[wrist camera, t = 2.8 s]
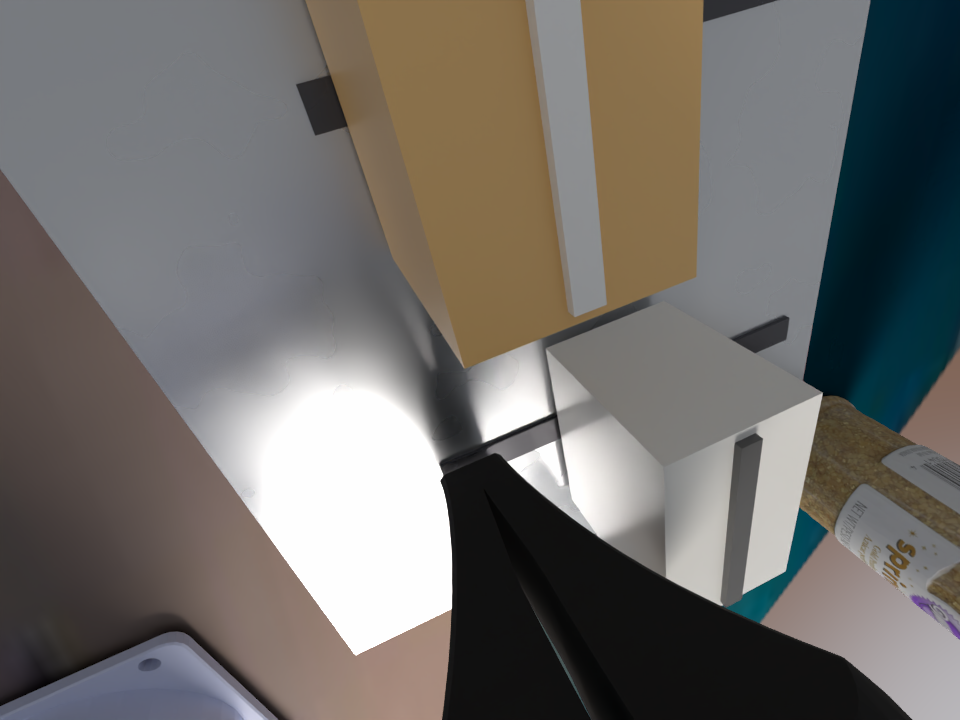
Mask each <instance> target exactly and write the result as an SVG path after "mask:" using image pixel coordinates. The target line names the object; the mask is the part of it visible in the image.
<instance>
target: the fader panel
mask: <svg viewBox="0 0 960 720" xmlns="http://www.w3.org/2000/svg"><path fill="white" fill-rule="evenodd" d="M869 5H870V0H703V38H702V77H701V117H700V156H699V196H698V235H697V275H696V277H695V278H693V279H690V280H688V281H685V282H683V283H680V284H678V285H675V286H673V287H670V288H668V289H665V290H663V291H660V292H658V293H655V294H652V295H650V296H647V297H645V298H642V299H640V300H637V301H635V302H632V303H630V304H627V305H625V306H622V307H620V308H617V309H615V310H612V311H610V312H607V313H605V314H602V315H599V316H597V317H594V318H592V319H589V320H587V321H584V322H582V323H579V324H577V325H574V326H572V327H569V328H567V329H564V330H562V331H559V332H557V333H554V334H552V335H549V336H546V337H544V338H541V339H539V340H536V341H534V342H531V343H529V344H526V345H524V346H521V347H519V348H516V349H514V350H511V351H509V352H506V353H504V354H501V355H498V356H496V357H493V358H491V359H488V360H486V361H483V362H481V363H478V364H476V365H473V366H471V367H468V368H466V369H464V367H463V366H462V364H461V363H460V361H459V360H458V358H457V357H456V355H455V353H454V352H453V350H452V349H451V347H450V346H449V344H448V343H447V341H446V340H445V338H444V337H443V335H442V333H441V332H440V330H439V329H438V327H437V326H436V324H435V323H434V321H433V320H432V318H431V317H430V315H429V313H428V312H427V310H426V309H425V307H424V306H423V304H422V303H421V301H420V300H419V298H418V297H417V295H416V293H415V292H414V290H413V289H412V287H411V286H410V284H409V283H408V281H407V280H406V278H405V277H404V275H403V273H402V272H401V270H400V269H399V267H398V266H397V264H396V263H395V261H394V260H393V258H392V255H391V252H390V249H389V246H388V243H387V240H386V237H385V234H384V231H383V228H382V225H381V222H380V219H379V216H378V213H377V210H376V207H375V205H374V202H373V199H372V196H371V193H370V190H369V187H368V184H367V181H366V178H365V175H364V172H363V169H362V166H361V163H360V160H359V157H358V154H357V151H356V149H355V146H354V143H353V140H352V137H351V134H350V131H349V128H348V125H347V122H346V119H345V116H344V113H343V110H342V107H341V104H340V101H339V98H338V95H337V92H336V90H335V87H334V84H333V81H332V78H331V75H330V72H329V69H328V66H327V63H326V60H325V57H324V54H323V51H322V48H321V45H320V42H319V39H318V36H317V33H316V31H315V28H314V25H313V22H312V19H311V16H310V13H309V10H308V7H307V4H306V1H305V0H0V169H1V171H2V172H3V173H4V175H5V176H6V177H7V179H8V180H9V182H10V183H11V184H12V186H13V187H14V188H15V190H16V191H17V192H18V194H19V195H20V197H21V198H22V199H23V201H24V202H25V203H26V205H27V206H28V208H29V209H30V210H31V212H32V213H33V214H34V216H35V217H36V218H37V220H38V221H39V223H40V224H41V225H42V227H43V228H44V229H45V231H46V232H47V234H48V235H49V236H50V238H51V239H52V240H53V242H54V243H55V244H56V246H57V247H58V249H59V250H60V251H61V253H62V254H63V255H64V257H65V258H66V260H67V261H68V262H69V264H70V265H71V266H72V268H73V269H74V270H75V272H76V273H77V275H78V276H79V277H80V279H81V280H82V281H83V283H84V284H85V286H86V287H87V288H88V290H89V291H90V292H91V294H92V295H93V296H94V298H95V299H96V301H97V302H98V303H99V305H100V306H101V307H102V309H103V310H104V312H105V313H106V314H107V316H108V317H109V318H110V320H111V321H112V322H113V324H114V325H115V327H116V328H117V329H118V331H119V332H120V333H121V335H122V336H123V338H124V339H125V340H126V342H127V343H128V344H129V346H130V347H131V348H132V350H133V351H134V353H135V354H136V355H137V357H138V358H139V359H140V361H141V362H142V364H143V365H144V366H145V368H146V369H147V370H148V372H149V373H150V374H151V376H152V377H153V379H154V380H155V381H156V383H157V384H158V385H159V387H160V388H161V390H162V391H163V392H164V394H165V395H166V396H167V398H168V399H169V400H170V402H171V403H172V405H173V406H174V407H175V409H176V410H177V411H178V413H179V414H180V416H181V417H182V418H183V420H184V421H185V422H186V424H187V425H188V426H189V428H190V429H191V431H192V432H193V433H194V435H195V436H196V437H197V439H198V440H199V442H200V443H201V444H202V446H203V447H204V448H205V450H206V451H207V452H208V454H209V455H210V457H211V458H212V459H213V461H214V462H215V463H216V465H217V466H218V468H219V469H220V470H221V472H222V473H223V474H224V476H225V477H226V478H227V480H228V481H229V483H230V484H231V485H232V487H233V488H234V489H235V491H236V492H237V493H238V495H239V496H240V498H241V499H242V500H243V502H244V503H245V504H246V506H247V507H248V509H249V510H250V511H251V513H252V514H253V515H254V517H255V518H256V519H257V521H258V522H259V524H260V525H261V526H262V528H263V529H264V530H265V532H266V533H267V535H268V536H269V537H270V539H271V540H272V541H273V543H274V544H275V545H276V547H277V548H278V550H279V551H280V552H281V554H282V555H283V556H284V558H285V559H286V561H287V562H288V563H289V565H290V566H291V567H292V569H293V570H294V571H295V573H296V574H297V576H298V577H299V578H300V580H301V581H302V582H303V584H304V585H305V587H306V588H307V589H308V591H309V592H310V593H311V595H312V596H313V597H314V599H315V600H316V602H317V603H318V604H319V606H320V607H321V608H322V610H323V611H324V613H325V614H326V615H327V617H328V618H329V619H330V621H331V622H332V623H333V625H334V626H335V628H336V629H337V630H338V632H339V633H340V634H341V636H342V637H343V639H344V640H345V641H346V643H347V644H348V645H349V647H350V648H351V649H352V651H353V652H354V654H355V655H357V654H359V653H361V652H363V651H365V650H367V649H369V648H371V647H373V646H375V645H377V644H379V643H382V642H384V641H386V640H388V639H390V638H392V637H394V636H396V635H398V634H400V633H402V632H404V631H406V630H408V629H410V628H413V627H415V626H417V625H419V624H421V623H423V622H425V621H427V620H429V619H431V618H433V617H435V616H437V615H439V614H442V613H444V612H446V611H448V610H450V609H452V559H451V543H450V528H449V520H448V512H447V506H446V500H445V496H444V492H443V488H442V485H441V483H440V480H441V478H442V477H443V475H445V474H447V473H449V472H452V471H454V470H456V469H459V468H461V467H463V466H465V465H468V464H470V463H472V462H475V461H477V460H479V459H482V458H484V457H486V456H489V455H491V454H493V453H497V454H500V455H501V456H502V457H503V458H504V459H505V460H506V461H507V462H508V463H509V464H510V466H511V467H512V468H513V469H514V470H515V471H517V472H518V473H519V474H520V475H521V476H522V477H523V478H524V479H525V480H526V481H527V482H528V483H530V484H531V485H532V486H533V487H534V488H535V489H536V490H537V491H539V492H540V493H541V494H542V495H543V496H545V497H546V498H547V499H548V500H550V501H551V502H552V503H553V504H555V505H556V506H557V507H558V508H560V509H561V510H562V511H564V512H565V513H566V514H567V515H569V516H570V517H571V518H573V519H574V520H575V521H577V522H578V523H579V524H581V525H582V526H584V527H585V528H586V529H588V530H589V531H591V532H592V533H594V534H595V535H597V534H596V533H595V531H594V530H593V529H592V527H591V526H590V524H589V523H588V522H587V520H586V519H585V517H584V516H583V514H582V513H581V512H580V510H579V509H578V507H577V506H576V504H575V503H574V502H573V500H572V496H571V491H570V485H569V479H568V474H567V468H566V462H565V456H564V451H563V445H562V439H561V433H560V428H559V422H558V416H557V411H556V405H555V399H554V393H553V388H552V382H551V376H550V371H549V365H548V359H547V353H546V348H547V347H550V346H552V345H555V344H557V343H560V342H562V341H565V340H567V339H570V338H572V337H575V336H577V335H580V334H582V333H585V332H587V331H590V330H592V329H595V328H597V327H600V326H602V325H605V324H607V323H610V322H612V321H615V320H617V319H620V318H622V317H625V316H627V315H630V314H632V313H635V312H637V311H640V310H642V309H645V308H647V307H650V306H652V305H655V304H657V303H660V302H662V301H665V302H667V303H669V304H670V305H672V306H674V307H676V308H677V309H679V310H681V311H683V312H684V313H686V314H688V315H689V316H691V317H693V318H695V319H696V320H698V321H700V322H702V323H703V324H705V325H707V326H708V327H710V328H712V329H714V330H715V331H717V332H719V333H721V334H722V335H724V336H726V337H727V338H729V339H731V340H733V341H734V342H736V343H738V344H740V345H741V346H743V347H745V348H747V349H748V350H750V351H752V352H753V353H755V354H757V355H759V356H760V357H762V358H764V359H766V360H767V361H769V362H771V363H772V364H774V365H776V366H778V367H779V368H781V369H783V370H785V371H786V372H788V373H790V374H791V375H793V376H795V377H797V378H798V379H800V380H802V381H803V376H804V370H805V365H806V359H807V354H808V348H809V342H810V337H811V331H812V325H813V320H814V314H815V309H816V303H817V297H818V292H819V286H820V281H821V275H822V269H823V264H824V258H825V252H826V247H827V241H828V236H829V230H830V224H831V219H832V213H833V208H834V202H835V196H836V191H837V185H838V179H839V174H840V168H841V163H842V157H843V151H844V146H845V140H846V134H847V129H848V123H849V118H850V112H851V106H852V101H853V95H854V90H855V84H856V78H857V73H858V67H859V61H860V56H861V50H862V45H863V39H864V33H865V28H866V22H867V17H868V11H869Z"/></svg>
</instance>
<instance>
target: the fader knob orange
mask: <svg viewBox="0 0 960 720" xmlns="http://www.w3.org/2000/svg"><path fill="white" fill-rule="evenodd" d="M305 1H306V4H307V7H308V10H309V13H310V16H311V19H312V22H313V25H314V28H315V31H316V33H317V36H318V39H319V42H320V45H321V48H322V51H323V54H324V57H325V60H326V63H327V66H328V69H329V72H330V75H331V78H332V81H333V84H334V87H335V90H336V92H337V95H338V98H339V101H340V104H341V107H342V110H343V113H344V116H345V119H346V122H347V125H348V128H349V131H350V134H351V137H352V140H353V143H354V146H355V149H356V151H357V154H358V157H359V160H360V163H361V166H362V169H363V172H364V175H365V178H366V181H367V184H368V187H369V190H370V193H371V196H372V199H373V202H374V205H375V207H376V210H377V213H378V216H379V219H380V222H381V225H382V228H383V231H384V234H385V237H386V240H387V243H388V246H389V249H390V252H391V255H392V258H393V260H394V261H395V263H396V264H397V266H398V267H399V269H400V270H401V272H402V273H403V275H404V277H405V278H406V280H407V281H408V283H409V284H410V286H411V287H412V289H413V290H414V292H415V293H416V295H417V297H418V298H419V300H420V301H421V303H422V304H423V306H424V307H425V309H426V310H427V312H428V313H429V315H430V317H431V318H432V320H433V321H434V323H435V324H436V326H437V327H438V329H439V330H440V332H441V333H442V335H443V337H444V338H445V340H446V341H447V343H448V344H449V346H450V347H451V349H452V350H453V352H454V353H455V355H456V357H457V358H458V360H459V361H460V363H461V364H462V366H463V367H464V369H466V368H468V367H471V366H473V365H476V364H478V363H481V362H483V361H486V360H488V359H491V358H493V357H496V356H498V355H501V354H504V353H506V352H509V351H511V350H514V349H516V348H519V347H521V346H524V345H526V344H529V343H531V342H534V341H536V340H539V339H541V338H544V337H546V336H549V335H552V334H554V333H557V332H559V331H562V330H564V329H567V328H569V327H572V326H574V325H577V324H579V323H582V322H584V321H587V320H589V319H592V318H594V317H597V316H599V315H602V314H605V313H607V312H610V311H612V310H615V309H617V308H620V307H622V306H625V305H627V304H630V303H632V302H635V301H637V300H640V299H642V298H645V297H647V296H650V295H652V294H655V293H658V292H660V291H663V290H665V289H668V288H670V287H673V286H675V285H678V284H680V283H683V282H685V281H688V280H690V279H693V278H695V277H696V275H697V235H698V196H699V156H700V117H701V77H702V38H703V0H305Z"/></svg>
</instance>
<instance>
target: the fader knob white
mask: <svg viewBox="0 0 960 720" xmlns="http://www.w3.org/2000/svg"><path fill="white" fill-rule="evenodd" d="M546 353H547V359H548V365H549V371H550V376H551V382H552V388H553V393H554V399H555V405H556V411H557V416H558V422H559V428H560V433H561V439H562V445H563V451H564V456H565V462H566V468H567V474H568V479H569V485H570V491H571V496H572V500H573V502H574V503H575V504H576V506H577V507H578V509H579V510H580V512H581V513H582V514H583V516H584V517H585V519H586V520H587V522H588V523H589V524H590V526H591V527H592V529H593V530H594V531H595V533H596V534H597V536H598V537H599V538H601V539H602V540H604V541H605V542H607V543H608V544H610V545H611V546H613V547H614V548H616V549H618V550H619V551H621V552H622V553H624V554H626V555H627V556H629V557H631V558H632V559H634V560H635V561H637V562H639V563H640V564H642V565H644V566H645V567H647V568H649V569H651V570H653V571H654V572H656V573H658V574H660V575H661V576H663V577H665V578H667V579H669V580H670V581H672V582H674V583H676V584H678V585H680V586H682V587H684V588H686V589H688V590H690V591H692V592H694V593H696V594H698V595H700V596H702V597H704V598H706V599H708V600H710V601H712V602H714V603H716V604H718V605H720V606H722V605H724V606H725V607H728V606H730V605H732V604H733V603H735V602H737V601H739V600H741V599H742V594H744V593H746V592H748V591H750V590H752V589H753V588H755V587H757V586H759V585H761V584H763V583H765V582H767V581H768V580H770V579H772V578H774V577H776V576H778V575H780V574H781V573H783V572H785V571H786V566H787V562H788V557H789V552H790V547H791V543H792V538H793V533H794V528H795V524H796V519H797V514H798V509H799V505H800V500H801V495H802V490H803V486H804V481H805V476H806V471H807V467H808V462H809V457H810V452H811V448H812V443H813V438H814V433H815V429H816V424H817V419H818V414H819V409H820V405H821V400H822V395H823V392H821V391H819V390H817V389H816V388H814V387H812V386H810V385H809V384H807V383H805V382H804V381H802V380H800V379H798V378H797V377H795V376H793V375H791V374H790V373H788V372H786V371H785V370H783V369H781V368H779V367H778V366H776V365H774V364H772V363H771V362H769V361H767V360H766V359H764V358H762V357H760V356H759V355H757V354H755V353H753V352H752V351H750V350H748V349H747V348H745V347H743V346H741V345H740V344H738V343H736V342H734V341H733V340H731V339H729V338H727V337H726V336H724V335H722V334H721V333H719V332H717V331H715V330H714V329H712V328H710V327H708V326H707V325H705V324H703V323H702V322H700V321H698V320H696V319H695V318H693V317H691V316H689V315H688V314H686V313H684V312H683V311H681V310H679V309H677V308H676V307H674V306H672V305H670V304H669V303H667V302H665V301H662V302H660V303H657V304H655V305H652V306H650V307H647V308H645V309H642V310H640V311H637V312H635V313H632V314H630V315H627V316H625V317H622V318H620V319H617V320H615V321H612V322H610V323H607V324H605V325H602V326H600V327H597V328H595V329H592V330H590V331H587V332H585V333H582V334H580V335H577V336H575V337H572V338H570V339H567V340H565V341H562V342H560V343H557V344H555V345H552V346H550V347H547V348H546Z"/></svg>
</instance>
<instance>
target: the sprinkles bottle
mask: <svg viewBox="0 0 960 720" xmlns="http://www.w3.org/2000/svg"><path fill="white" fill-rule="evenodd" d="M799 507H800V508H801V509H802V510H804V511H806V512H807V513H808V514H809V515H810V516H811V517H812V518H813V519H815V520H816V521H817V522H819V523H820V524H821V525H822V526H823V527H825V528H826V529H827V530H828V531H830V532H831V533H832V534H834V535H835V536H836V538H837V540H839V542H840V543H841V544H843V545H844V546H845V547H847V548H848V549H849V550H850V551H851V552H853V553H854V554H855V555H856V556H858V557H859V558H860V559H861V560H862V561H864V562H865V563H866V564H867V565H869V566H870V567H871V568H872V569H874V570H875V571H876V572H877V573H879V574H880V575H881V576H882V577H883V578H885V579H886V580H887V581H888V582H890V583H891V584H892V585H893V586H894V587H896V588H897V589H898V590H899V591H900V592H901V593H903V594H904V595H905V596H906V597H908V598H909V599H910V600H912V601H913V602H914V603H915V604H916V605H918V606H919V607H920V608H921V609H922V610H924V611H925V612H926V613H927V614H929V615H930V616H931V617H932V618H934V619H935V620H936V621H937V622H939V623H940V624H941V625H942V626H944V627H945V628H946V629H948V630H949V631H950V632H951V633H952V634H953V635H955V636H956V637H957V638H958V639H960V466H959V465H958V464H956V463H954V462H952V461H951V460H949V459H947V458H945V457H943V456H942V455H940V454H938V453H936V452H935V451H933V450H931V449H929V448H928V447H925V446H922V445H917V444H915V443H913V442H911V441H910V440H908V439H906V438H905V437H903V436H901V435H899V434H898V433H896V432H894V431H892V430H890V429H888V428H887V427H885V426H884V425H882V424H880V423H878V422H877V421H875V420H873V419H871V418H869V417H867V416H865V415H864V414H862V413H861V412H859V411H858V410H856V409H855V407H854V406H853V405H852V404H851V403H850V402H849V401H847V400H846V399H844V398H841V397H838V396H824V397H822V400H821V405H820V409H819V414H818V419H817V424H816V429H815V433H814V438H813V443H812V448H811V452H810V457H809V462H808V467H807V471H806V476H805V481H804V486H803V490H802V495H801V500H800V505H799Z"/></svg>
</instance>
